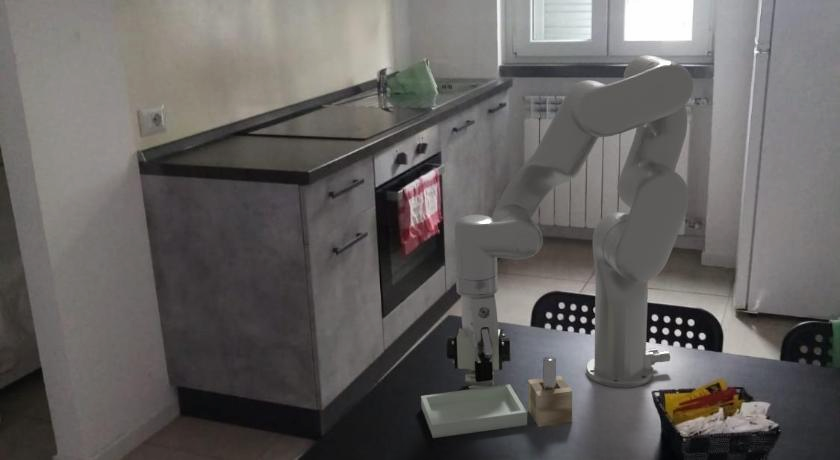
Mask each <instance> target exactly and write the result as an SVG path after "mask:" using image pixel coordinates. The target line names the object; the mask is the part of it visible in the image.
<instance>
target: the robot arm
mask: <svg viewBox="0 0 840 460" xmlns="http://www.w3.org/2000/svg"><path fill="white" fill-rule="evenodd" d="M622 78H623V79H621V80H618V81H615V82H612V83H608V84H605V83H602V82H599V81H596V80H590V79H588V80H581V81H579V82H577V83H575V84H574V85H573V86H572V87H571V88H569V91H568V92H567V93H566V95H565V97H564V99H563V100H562V102H561V103H560V106H559V108H557V109H558V110H557V112H556V113H555V115H554V116H553V119H551V122H550V124H549V126H548V128H547V129H546V131H545V133H544V135H543V136H542V138H541V140H540V142H539V144H538V146H537V147H536V150H535V151H534V153H533V154H532V155H531V156H530V157H529V158H528V159H527V160H526V162H525V163H524V164H523V165H522V166H521V168H520V169H519V170H518V171H517V173H516V174H514V176H513V177H512V179H511V180H510V181H509V183H508V184H507V186H506V188H505V189H504V191H503V193H502V194H501V195H502V196H501V197H500V199H499V201H498V203H497V205H495V206H496V207H495V209H494V210H493V213H492V215H491V216H488V215H484V214H469V215H465V216H461V217H459V218H458V219H457V220H456V221H455V222H454V223H455V224H454V231H453V232H454V257H455V280H456V281H455V283H456V284H455V285H456V293H457V294H458V295H459V296H461V304H460V305H461V323H462V324H461V325H462V326H461V327H462V329H464V330H465V332H466V334H467V336H468V337H469V340H470V343H471V345H472V346H473V347H474V348H475V352H476V361H475V380H476V382H482V381H490V380H492V379H493V373H494V371H493V367H492V348H491V343H490V339H491V342H492V344H493V346H498V344H499V335H498V329H499V323H498V311H497V303H496V297H495V294H497V293H498V291H499V286H498V285H499V284H498V282H499V281H498V280H499V279H498V259H499V258H500V259H509V260H510V259H511V260H525V259H526V260H527V259H529V258H532V257H533V256H536V254H538V253H539V251H540V250H541V248H542V247H543V242H544V238H543V232H542V230H541V228H540V227H539V225H538V224H537V222H535V220H534V218H535V216H536V214H537V212H538V210H539V208H540V207H541V204H542V203H543V202H544V200H545V199H546V197H547V196H548V195H549V194H550V193H551V192H552V191H553V190H554V189H555V188H557V187H558V186H561V185H562V184H565V183H567V182H569V181H571V180H573V179H575V178H576V177H577V176H578V175H579V173H580V171H581V170H582V167H583V166H584V165H585V162H586V161H587V159H588V156H589V155H590V153H591V152H592V150H593V148H594V146H595V144H596V142H597V140H598V139H599V138H606V137H607V138H608V137H613V136H616V135H619V134H622V133H626V132H628V131H631V130H634V129H635V130H636V131H635V133H634V137H633V140H632V143H631V146H630V148H629V151H628V154H627V156H626V159H625V162H624V166H623V168H622V171H620V172H621V173H620V176H619V177H618V183H617V187H616V189H617V194H618V196H619V199H620V200H621V201H622V202H623V203H624V204H625V205H626V206H627V207H628V208H629V210H630V211H629V213H627V212H624V211H623V212H621V211H617V212H616V211H615V212H612V213H609V214H606V215H605V216H604V217H602V218H601V219H600V220H599V222H598V223H597V224H596V226H595V228H594V232H593V233H592V234H593V235H592V252H593V254H592V255H593V262H594V263H593V264H594V274H595V275H594V277H595V279H594V281H595V283H594V284H595V297H594V299H595V300H594V302H595V303H594V357H593V358H591V359H589V360H588V362H587V363H586V366H585V367H586V368H585V372H586V374H587V376H588V378H590V380H592V381H594V382H596V383H598V384H600V385H604V386H607V387H611V388H635V387H640V386H642V385H645V384H647V383H649V382H650V381H651V380H652V379H653V377H654V374H655V373H654V367H653V366H654V365H655V364H656V363H666V362H670V361H671V355H670V352H669V351H660V352H659V350H658V348H657V347H654V348H648V349H647V329H648V328H647V326H648V325H647V324H648V322H647V321H648V299H649V298H648V297H649V296H648V295H649V293H648V292H649V283H648V282H649V281H650V280H652V279H654V278H656V277H657V276H658V275H659V274H660V273H661V272H662V270H663V269H664V268H665V266H666V264H667V263H668V260H669V257H670V255H671V254H672V251H673V248H674V246H675V243H676V241H677V238H678V236H679V232H680V231H681V228H682V225H683V223H684V219H685V217H686V214H687V211H688V208H689V200H690V194H689V193H690V192H689V188H688V185H687V183H686V182H685V179H684V178H683V177H682V176H681V174H679V173H678V172H676V168H677V164H678V162H679V159H680V156H681V152H682V149H683V147H684V144H685V143H684V142H685V139H686V135H687V130H688V113H687V112H688V111H687V106H686V104H688V102H689V101H690V99H691V97H692V95H693V91H694V81H693V80H694V79H693V77H692V75H691V73H690V71H689V70H688V69H687V68H686V67H685V66H684V65H682V64H680V63H678V62H676V61H673V60H669V59H667V58H666V59H665V58H663V57H660V56H655V55H649V54H648V55H647V54H645V55H640V56H637V57H635V58H633V59H632V60H631V61H630V62H629V63H628V64H627V65H626V68H625V70H624V72H623V77H622ZM479 342H482V344H483V345H479V346H478V343H479ZM479 349H483V353H481V354H480V351H479Z"/></svg>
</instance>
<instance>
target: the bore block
mask: <svg viewBox="0 0 840 460" xmlns="http://www.w3.org/2000/svg"><path fill="white" fill-rule="evenodd" d="M527 405H528V407H527V411H528V412H529V413H530V415H531V417H532V419H533V421H534V422H535V424H536V425H537V426H538V428H541V427H549V426H550V427H551V426H555V425H562V424H569V423H573V390H572V389H571V388H570V386H569V385H568V383H566V381H565V380H564V378H563V377H562V376H561V375H556V389H552V390H545V391H544V390H543V377H541V378H540V377H539V378H534V379H533V378H532V379H528V380H527Z"/></svg>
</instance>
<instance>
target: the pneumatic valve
mask: <svg viewBox="0 0 840 460" xmlns="http://www.w3.org/2000/svg"><path fill="white" fill-rule="evenodd" d="M498 335H499V344H498V346H493V344H492V342H491V339H490V343H491V348H492V367H493V370H495V371H496V370H497V371H503V367H504V365H505V362H508V363H509V362H512V338H511V337H506V334H504V329H501V328H500V329H499V328H498ZM479 345H483V344H482V342H479V343H478V346H479ZM479 351H480V354H481V353H483V349H479ZM446 359H447V361H452V364H454V369H456V370H457V369H460V370H469V371H466V372H465V381H464V382H465V385H466V386H468V387H467V389H468V390H470V389H477V388H485V387H492V386H495V373H494V372H493V379H492V380H490V381H482V382H476V380H475V361H476V352H475V348H474V347H473V346H472V345H471V343H470V340H469V337H468V336H467V334H466V332H465V330H464V329H463V328H456V330H455V332H454V335H453V336H448V337H447V339H446Z"/></svg>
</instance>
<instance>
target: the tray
mask: <svg viewBox="0 0 840 460" xmlns="http://www.w3.org/2000/svg"><path fill="white" fill-rule="evenodd" d="M420 399H421V400H420V401H421V402H420V403H421V404H420V405H421V411H422V413H423V416H424V418H425V420H426V424H427V426H428V429H429V431H430V434H431V436H432V439H436V438H443V437H451V436H452V437H453V436H458V435H466V434H473V433H479V432H480V433H481V432H488V431H494V430H500V429H501V430H502V429H509V428H514V427H523V426H528V412H527V411H528V410H526V408H525V407H524V405H523V403H522V402H521V400H520V398H519V397H518V395H517V394H516V392H515V390H514V389H513V387H512V386H511V384H510V383H509V384H502V385H493V386H490V387H485V388H477V389H463V390H456V391H447V392H441V393H434V394H426V395H425V394H424V395H421V396H420Z"/></svg>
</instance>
